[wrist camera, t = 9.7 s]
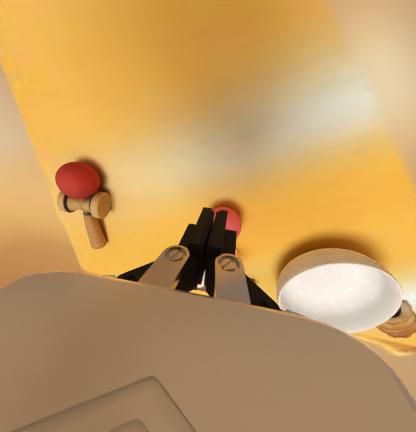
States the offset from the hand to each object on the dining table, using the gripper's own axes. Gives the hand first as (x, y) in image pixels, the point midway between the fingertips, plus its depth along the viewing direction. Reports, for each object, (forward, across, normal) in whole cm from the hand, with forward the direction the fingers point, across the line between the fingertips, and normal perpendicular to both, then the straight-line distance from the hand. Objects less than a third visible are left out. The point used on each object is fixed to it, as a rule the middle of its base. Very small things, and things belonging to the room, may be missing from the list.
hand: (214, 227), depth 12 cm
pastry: (+18, -36, +26) cm, 47 cm away
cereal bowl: (+17, -19, +18) cm, 31 cm away
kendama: (+18, +25, +10) cm, 32 cm away
